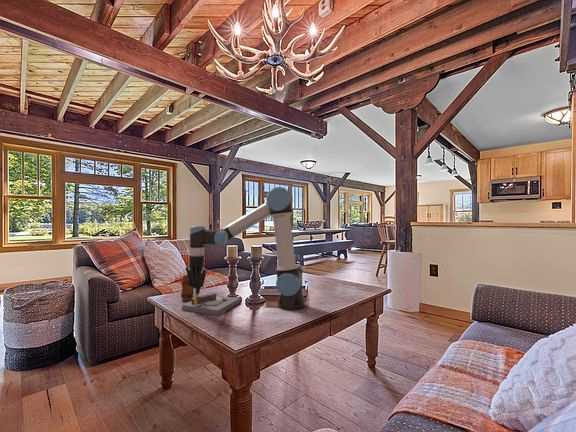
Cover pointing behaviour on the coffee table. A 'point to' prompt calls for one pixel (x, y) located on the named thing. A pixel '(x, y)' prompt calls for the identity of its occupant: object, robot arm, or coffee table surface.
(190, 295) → the mug
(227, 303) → the dial plate
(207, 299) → the dial
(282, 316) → the coffee table surface
